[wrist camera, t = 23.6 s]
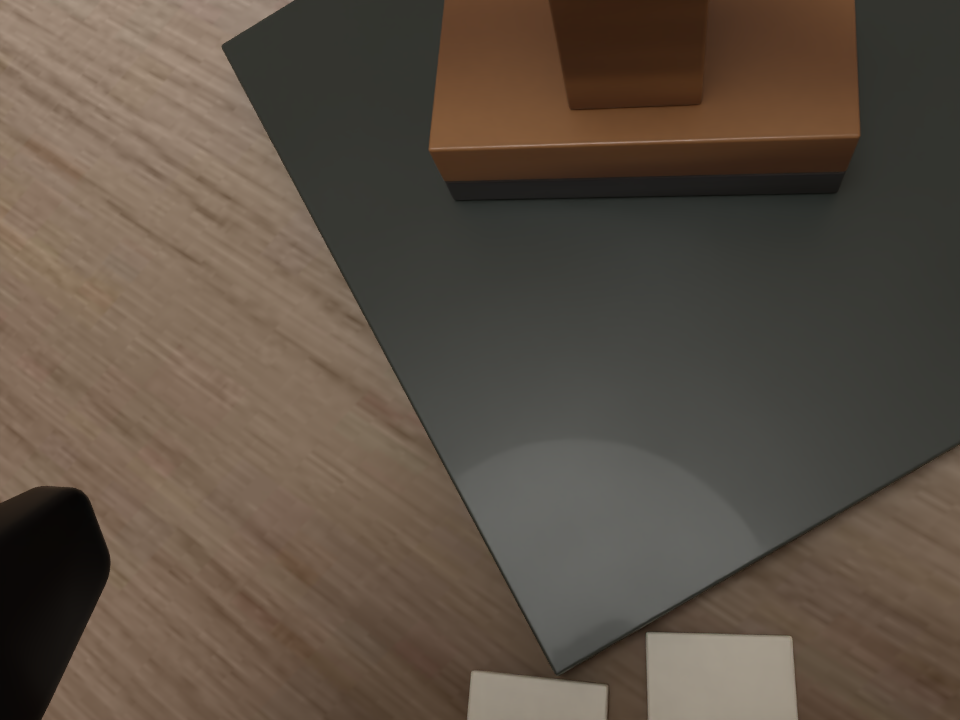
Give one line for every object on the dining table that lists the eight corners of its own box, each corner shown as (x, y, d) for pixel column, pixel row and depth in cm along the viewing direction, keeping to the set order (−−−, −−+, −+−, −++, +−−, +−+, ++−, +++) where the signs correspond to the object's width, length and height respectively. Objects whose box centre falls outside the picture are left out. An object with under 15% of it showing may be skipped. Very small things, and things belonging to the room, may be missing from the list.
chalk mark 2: (799, 790, 18) (804, 794, 17) (650, 781, 18) (649, 785, 18) (789, 635, 19) (792, 635, 18) (645, 631, 19) (645, 631, 19)
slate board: (1296, 250, 18) (1330, 230, 18) (561, 674, 19) (555, 676, 18) (771, -262, 25) (775, -297, 24) (236, 65, 26) (219, 44, 25)
